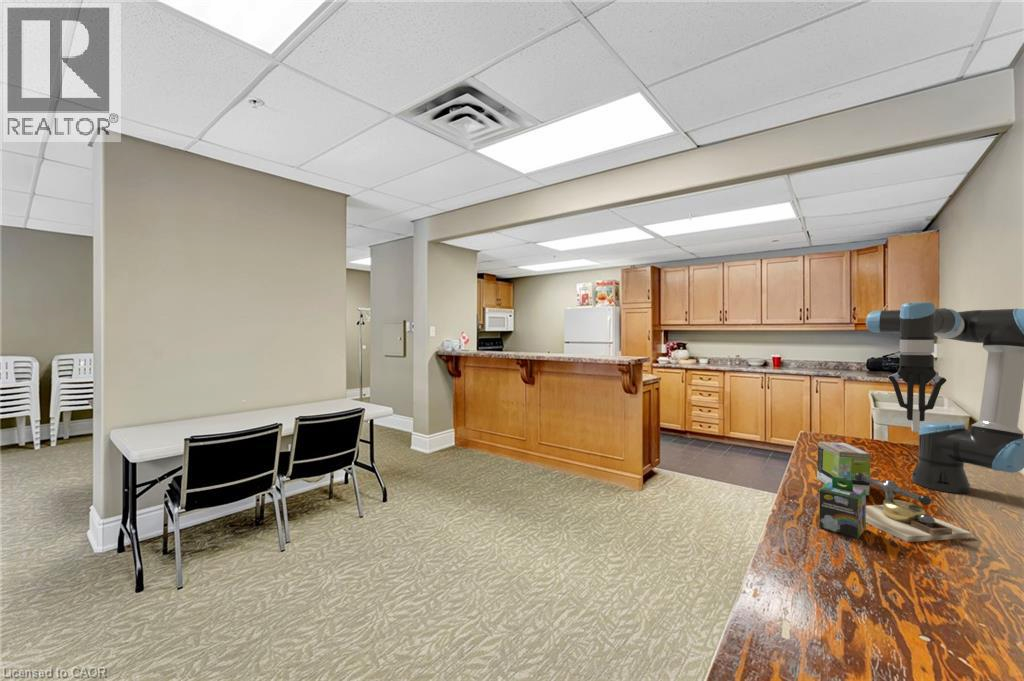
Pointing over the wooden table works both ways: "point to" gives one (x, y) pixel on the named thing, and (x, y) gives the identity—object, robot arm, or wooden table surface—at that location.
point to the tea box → (843, 463)
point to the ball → (926, 520)
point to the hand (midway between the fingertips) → (915, 431)
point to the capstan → (896, 507)
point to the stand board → (913, 527)
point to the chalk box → (842, 508)
